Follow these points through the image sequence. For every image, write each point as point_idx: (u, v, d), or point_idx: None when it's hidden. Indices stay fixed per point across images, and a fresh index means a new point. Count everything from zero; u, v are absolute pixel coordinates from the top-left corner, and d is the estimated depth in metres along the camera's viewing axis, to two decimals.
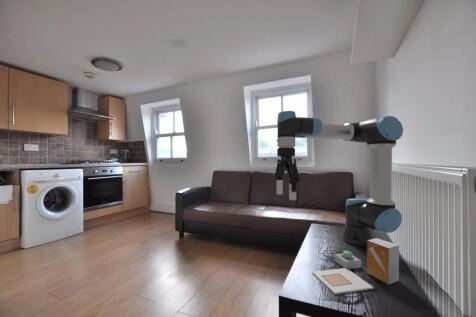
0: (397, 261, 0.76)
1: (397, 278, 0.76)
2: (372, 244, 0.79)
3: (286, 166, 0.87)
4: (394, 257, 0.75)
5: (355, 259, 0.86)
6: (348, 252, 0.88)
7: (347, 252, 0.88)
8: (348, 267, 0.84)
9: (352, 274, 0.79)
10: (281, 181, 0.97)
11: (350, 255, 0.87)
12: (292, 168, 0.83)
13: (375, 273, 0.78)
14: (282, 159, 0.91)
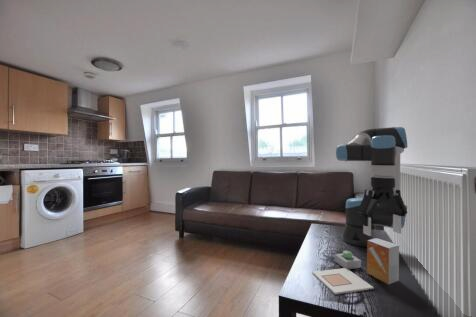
0: (397, 261, 0.76)
1: (397, 278, 0.76)
2: (372, 244, 0.79)
3: (371, 197, 0.80)
4: (394, 257, 0.75)
5: (355, 259, 0.86)
6: (348, 252, 0.88)
7: (347, 252, 0.88)
8: (348, 267, 0.84)
9: (352, 274, 0.79)
10: (398, 217, 0.80)
11: (350, 255, 0.87)
12: (363, 200, 0.78)
13: (375, 273, 0.78)
14: None
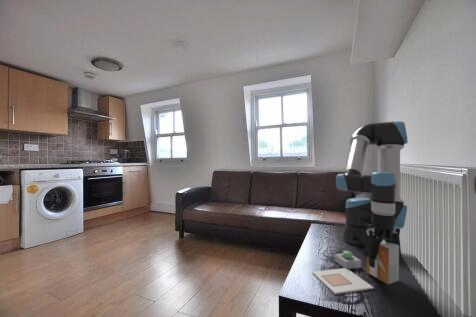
0: (397, 261, 0.76)
1: (397, 278, 0.76)
2: None
3: None
4: (394, 257, 0.75)
5: (355, 259, 0.86)
6: (348, 252, 0.88)
7: (347, 252, 0.88)
8: (348, 267, 0.84)
9: (352, 274, 0.79)
10: None
11: (350, 255, 0.87)
12: (366, 240, 0.78)
13: None
14: None
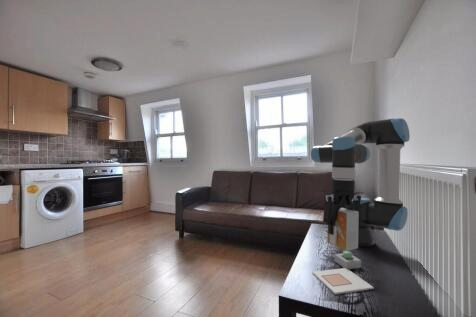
0: (357, 227, 0.74)
1: (356, 245, 0.73)
2: None
3: (333, 202, 0.77)
4: (353, 223, 0.73)
5: (355, 259, 0.86)
6: (348, 252, 0.88)
7: (347, 252, 0.88)
8: (348, 267, 0.84)
9: (352, 274, 0.79)
10: None
11: (350, 255, 0.87)
12: (325, 207, 0.76)
13: None
14: None
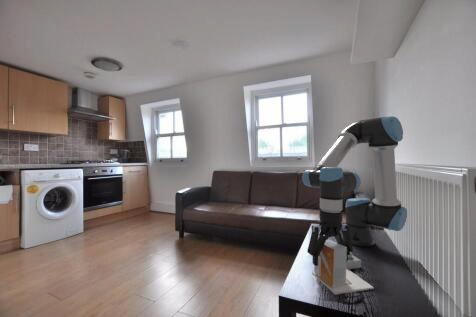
0: (345, 263, 0.72)
1: (344, 281, 0.72)
2: None
3: (320, 233, 0.76)
4: (341, 259, 0.72)
5: (355, 259, 0.86)
6: None
7: None
8: (348, 267, 0.84)
9: (352, 274, 0.79)
10: None
11: (350, 255, 0.87)
12: (311, 237, 0.74)
13: (322, 276, 0.75)
14: None
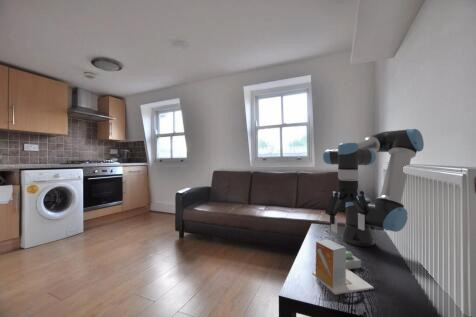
0: (344, 263, 0.72)
1: (344, 282, 0.72)
2: (320, 245, 0.76)
3: (338, 198, 0.89)
4: (340, 259, 0.72)
5: (355, 259, 0.86)
6: (348, 252, 0.88)
7: (347, 252, 0.88)
8: (348, 267, 0.84)
9: (352, 274, 0.79)
10: (361, 215, 0.89)
11: (350, 255, 0.87)
12: (330, 201, 0.87)
13: (322, 276, 0.75)
14: None
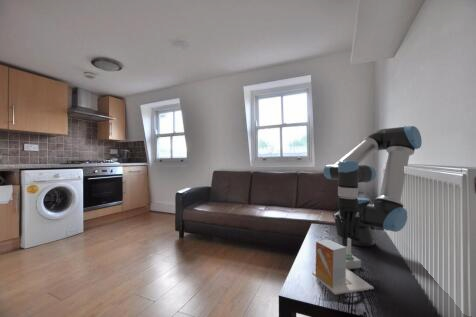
0: (344, 263, 0.72)
1: (344, 282, 0.72)
2: (320, 245, 0.76)
3: (341, 218, 0.89)
4: (340, 259, 0.72)
5: (355, 259, 0.86)
6: None
7: None
8: (348, 267, 0.84)
9: (352, 274, 0.79)
10: None
11: (350, 257, 0.87)
12: (336, 223, 0.88)
13: (322, 276, 0.75)
14: None
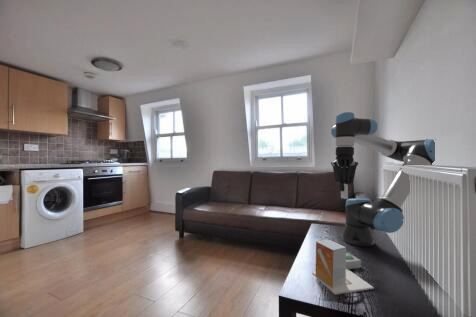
0: (344, 263, 0.72)
1: (344, 282, 0.72)
2: (320, 245, 0.76)
3: (338, 166, 0.97)
4: (340, 259, 0.72)
5: (355, 259, 0.86)
6: (348, 255, 0.88)
7: (347, 255, 0.88)
8: (348, 267, 0.84)
9: (352, 274, 0.79)
10: None
11: (350, 258, 0.87)
12: (334, 170, 0.96)
13: (322, 276, 0.75)
14: None
